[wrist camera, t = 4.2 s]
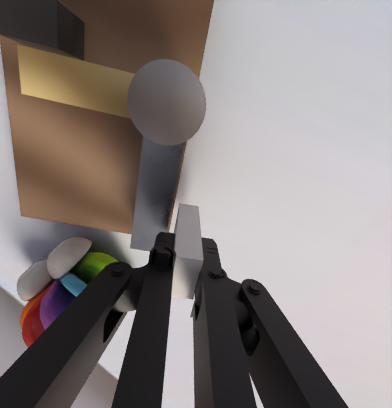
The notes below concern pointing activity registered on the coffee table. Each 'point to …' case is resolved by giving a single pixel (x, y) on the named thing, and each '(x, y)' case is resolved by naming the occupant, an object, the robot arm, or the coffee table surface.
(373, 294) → the coffee table surface
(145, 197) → the bar
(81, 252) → the multicolored petal toy
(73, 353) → the robot arm
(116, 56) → the board
